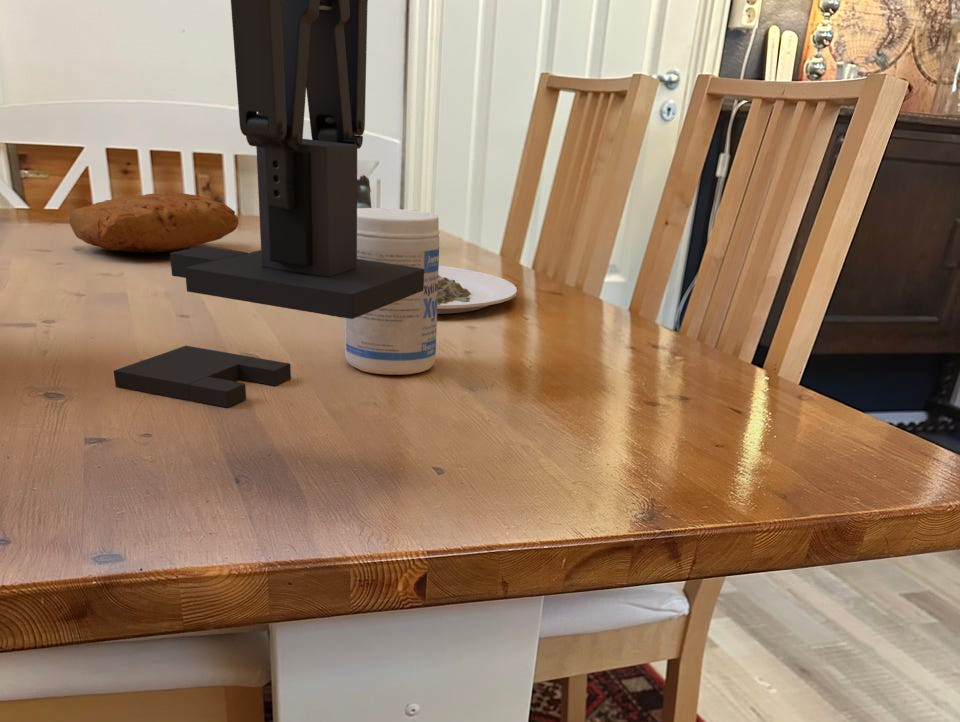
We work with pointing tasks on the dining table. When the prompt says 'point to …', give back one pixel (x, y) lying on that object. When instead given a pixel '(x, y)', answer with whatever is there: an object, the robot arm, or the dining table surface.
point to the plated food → (470, 290)
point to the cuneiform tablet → (153, 222)
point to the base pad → (201, 375)
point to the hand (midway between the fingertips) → (309, 257)
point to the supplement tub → (410, 321)
